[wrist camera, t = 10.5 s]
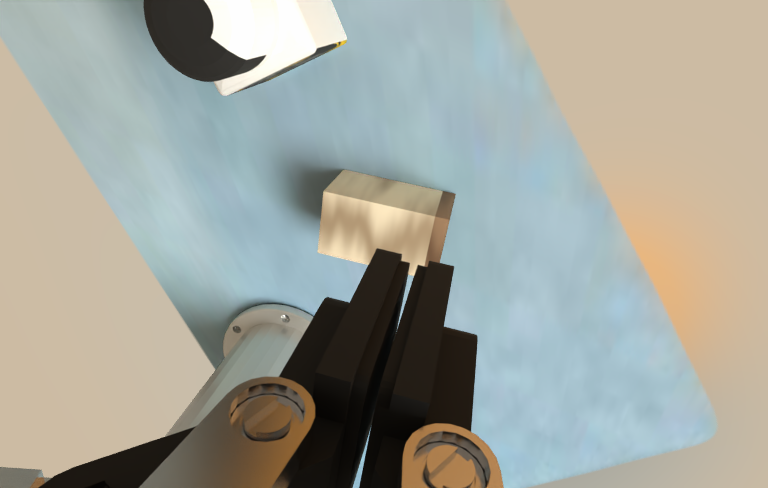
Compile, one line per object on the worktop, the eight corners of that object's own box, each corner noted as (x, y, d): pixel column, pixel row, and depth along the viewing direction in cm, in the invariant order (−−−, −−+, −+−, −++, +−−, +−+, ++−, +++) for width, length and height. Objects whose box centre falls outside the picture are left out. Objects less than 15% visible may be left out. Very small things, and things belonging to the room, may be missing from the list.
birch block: (435, 280, 36) (317, 252, 37) (442, 250, 40) (337, 225, 41) (449, 219, 34) (323, 191, 35) (455, 193, 38) (343, 169, 39)
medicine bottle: (267, 81, 37) (174, 115, 27) (219, -17, 35) (96, -22, 24) (350, 41, 35) (283, 61, 24) (304, -68, 32) (208, -98, 22)
